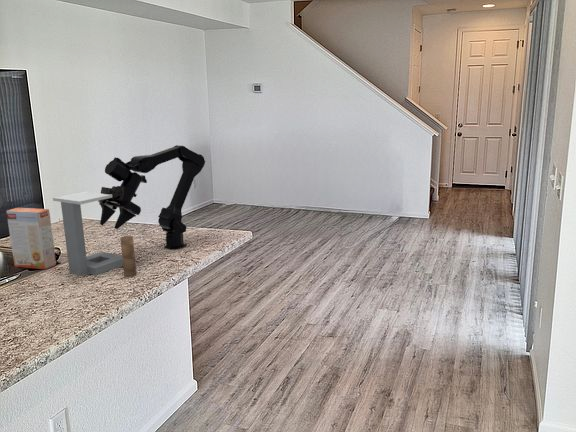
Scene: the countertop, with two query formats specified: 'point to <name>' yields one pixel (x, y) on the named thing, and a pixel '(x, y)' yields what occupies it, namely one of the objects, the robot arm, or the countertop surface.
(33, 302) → the countertop surface
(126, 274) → the walnut peg
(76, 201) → the socket stand
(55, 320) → the countertop surface
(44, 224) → the cracker box
